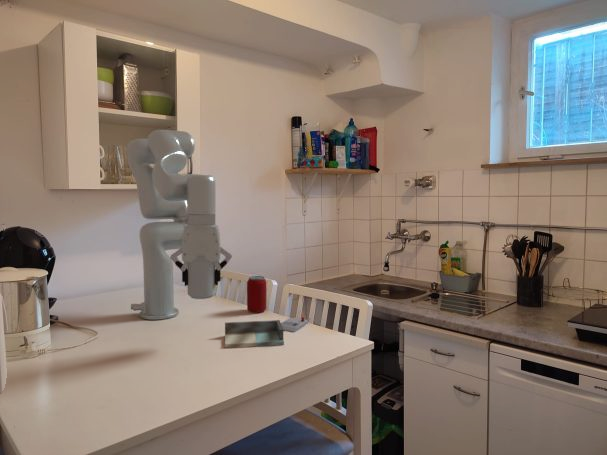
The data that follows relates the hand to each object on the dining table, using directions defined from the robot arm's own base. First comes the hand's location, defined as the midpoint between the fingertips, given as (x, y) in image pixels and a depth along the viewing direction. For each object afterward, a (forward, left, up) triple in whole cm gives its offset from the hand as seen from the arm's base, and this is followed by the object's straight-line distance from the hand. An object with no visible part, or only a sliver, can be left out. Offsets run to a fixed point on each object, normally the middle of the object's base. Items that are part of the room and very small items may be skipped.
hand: (201, 284), depth 123 cm
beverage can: (+17, +31, -17) cm, 39 cm away
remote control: (+28, +12, -18) cm, 35 cm away
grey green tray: (+14, 0, -17) cm, 22 cm away
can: (0, 0, -4) cm, 4 cm away
